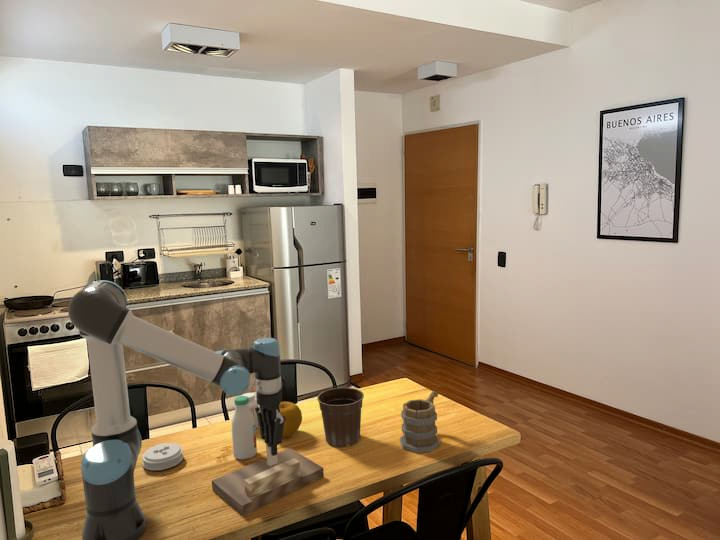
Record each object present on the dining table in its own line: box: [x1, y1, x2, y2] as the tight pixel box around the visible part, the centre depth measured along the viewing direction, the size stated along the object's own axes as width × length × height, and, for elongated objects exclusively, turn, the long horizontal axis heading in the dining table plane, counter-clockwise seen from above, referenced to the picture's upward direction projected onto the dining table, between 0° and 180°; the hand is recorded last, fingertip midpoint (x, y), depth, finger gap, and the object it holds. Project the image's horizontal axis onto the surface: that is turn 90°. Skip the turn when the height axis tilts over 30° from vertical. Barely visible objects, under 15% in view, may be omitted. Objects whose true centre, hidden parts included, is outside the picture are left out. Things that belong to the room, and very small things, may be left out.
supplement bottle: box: [241, 392, 259, 430], centre depth 199 cm, size 7×7×13 cm
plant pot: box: [317, 387, 365, 448], centre depth 186 cm, size 16×16×16 cm
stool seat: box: [211, 447, 325, 517], centre depth 161 cm, size 28×18×3 cm, turn 132°
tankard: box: [399, 390, 441, 454], centre depth 184 cm, size 20×13×15 cm, turn 143°
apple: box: [279, 401, 303, 439], centre depth 192 cm, size 13×13×11 cm
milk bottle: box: [231, 395, 258, 460], centre depth 178 cm, size 8×8×20 cm
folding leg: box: [244, 458, 300, 497], centre depth 154 cm, size 17×3×4 cm, turn 132°
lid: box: [141, 442, 184, 471], centre depth 175 cm, size 13×13×5 cm
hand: (272, 463), depth 163 cm, fingers closed
